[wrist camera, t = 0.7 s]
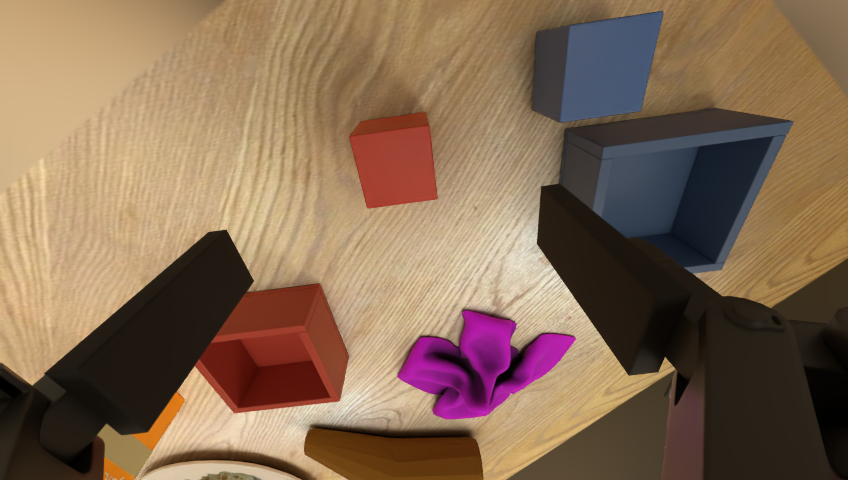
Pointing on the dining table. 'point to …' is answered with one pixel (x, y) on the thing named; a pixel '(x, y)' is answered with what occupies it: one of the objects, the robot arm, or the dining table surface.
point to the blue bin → (675, 178)
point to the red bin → (277, 352)
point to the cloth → (479, 366)
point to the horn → (395, 456)
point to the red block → (395, 160)
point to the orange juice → (134, 445)
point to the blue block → (594, 67)
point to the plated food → (217, 471)
